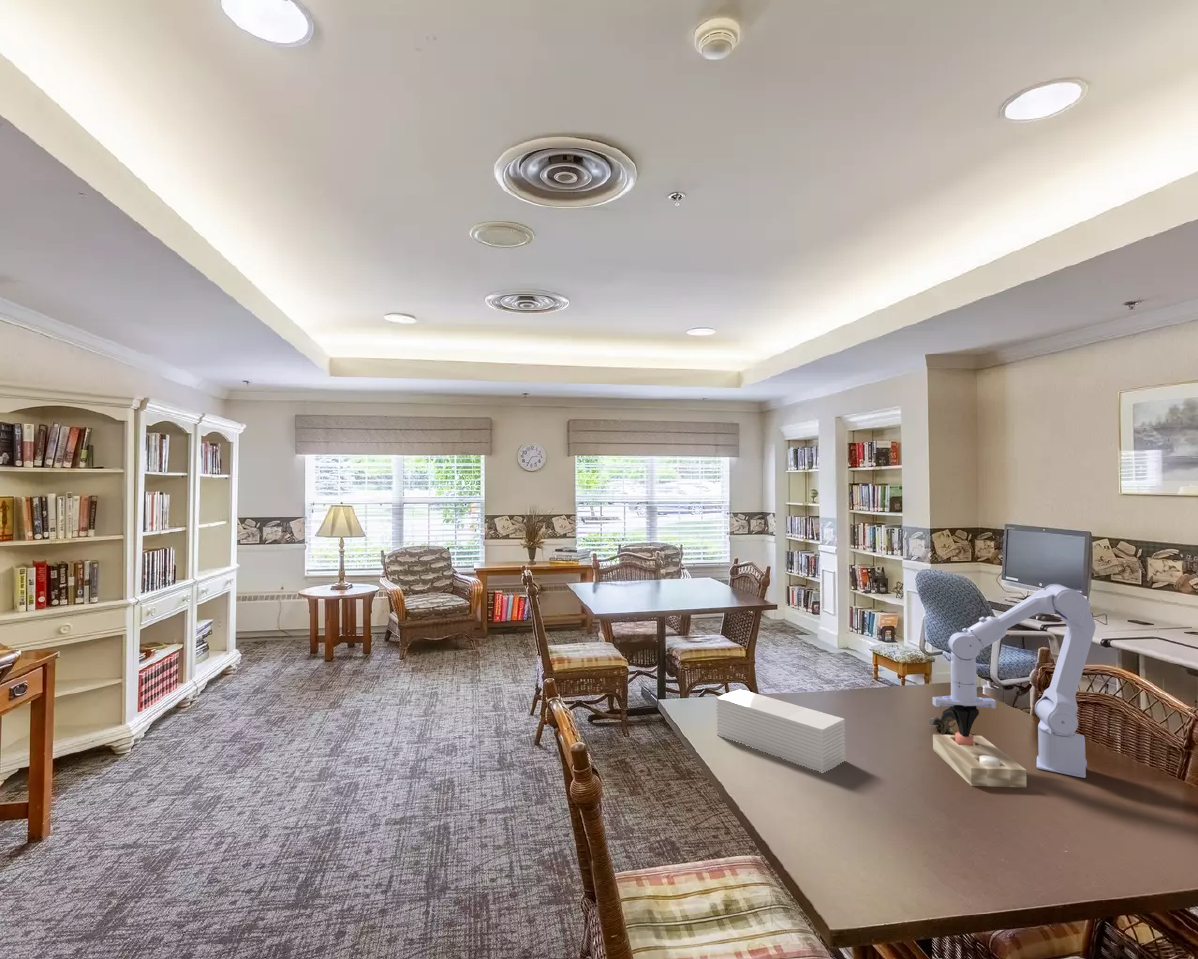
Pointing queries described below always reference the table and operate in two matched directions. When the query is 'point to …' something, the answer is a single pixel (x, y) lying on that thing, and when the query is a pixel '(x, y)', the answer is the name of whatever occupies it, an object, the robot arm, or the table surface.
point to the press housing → (971, 769)
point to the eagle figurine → (944, 721)
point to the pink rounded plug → (964, 739)
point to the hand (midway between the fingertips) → (964, 735)
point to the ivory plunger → (988, 760)
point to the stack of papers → (782, 729)
